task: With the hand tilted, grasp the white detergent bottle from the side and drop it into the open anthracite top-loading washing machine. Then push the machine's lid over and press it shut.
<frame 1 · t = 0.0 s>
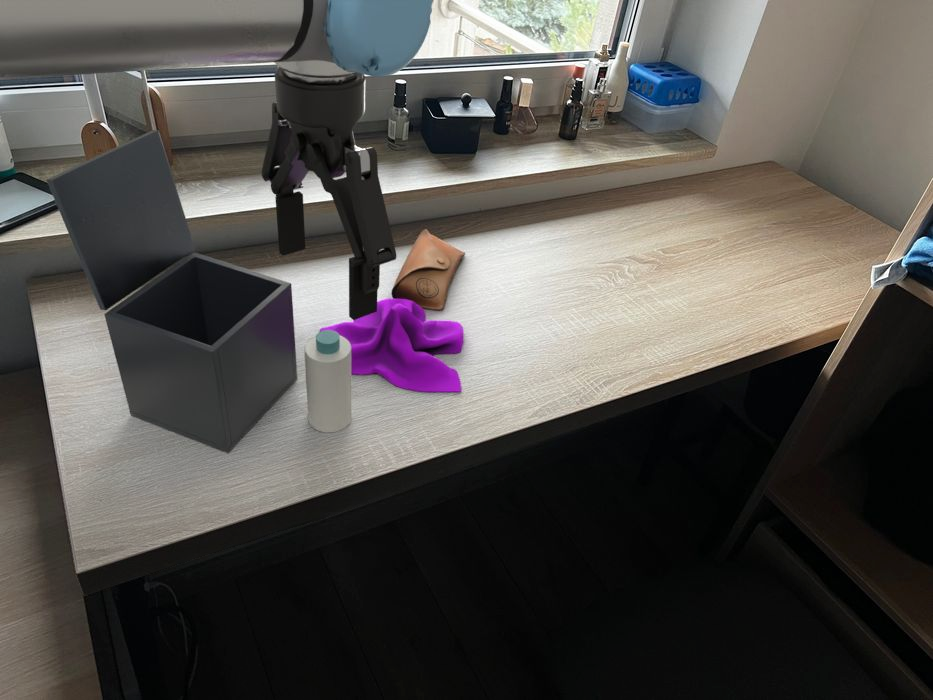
hand: (326, 281, 74), 21 cm above the table, tool pointing down, fingers open, 13 cm apart
sunglasses case: (430, 277, 115), on the table
white bottle: (329, 417, 88), on the table
cloth: (403, 348, 101), on the table
washer: (217, 396, 89), on the table
washer lid: (129, 218, 77), point 22 cm above the table, hinge at 100.0°
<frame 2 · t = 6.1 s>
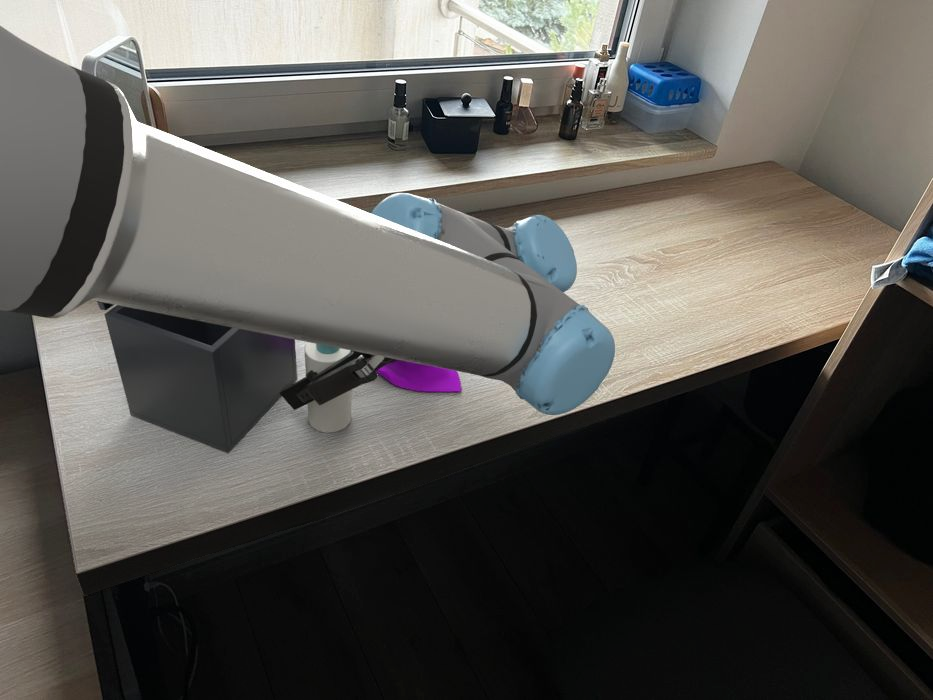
hand: (302, 385, 87), 4 cm above the table, tool tilted 45°, fingers closed on white bottle, 5 cm apart
white bottle: (329, 417, 88), on the table, touching gripper
everything else where it was.
when the fingers open (16 cm above the table, at t = 14.5 s): white bottle drops 12 cm, resting on washer.
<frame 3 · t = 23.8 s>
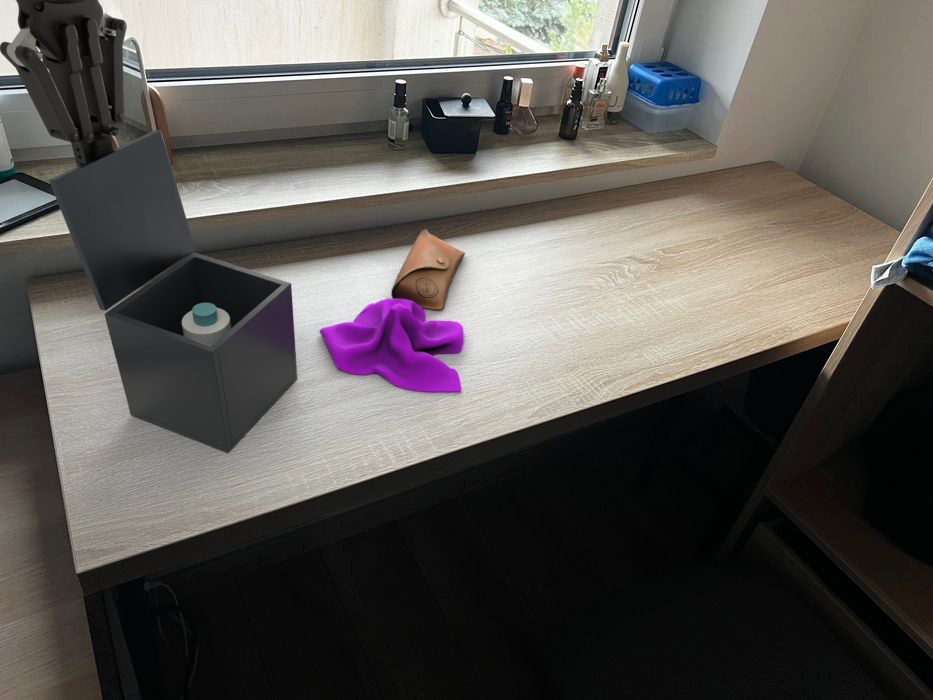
hand: (104, 195, 77), 24 cm above the table, tool pointing down, fingers closed
white bottle: (217, 391, 89), point 1 cm above the table, touching washer
washer lid: (131, 218, 77), point 22 cm above the table, hinge at 98.7°, touching gripper
everything else where it was.
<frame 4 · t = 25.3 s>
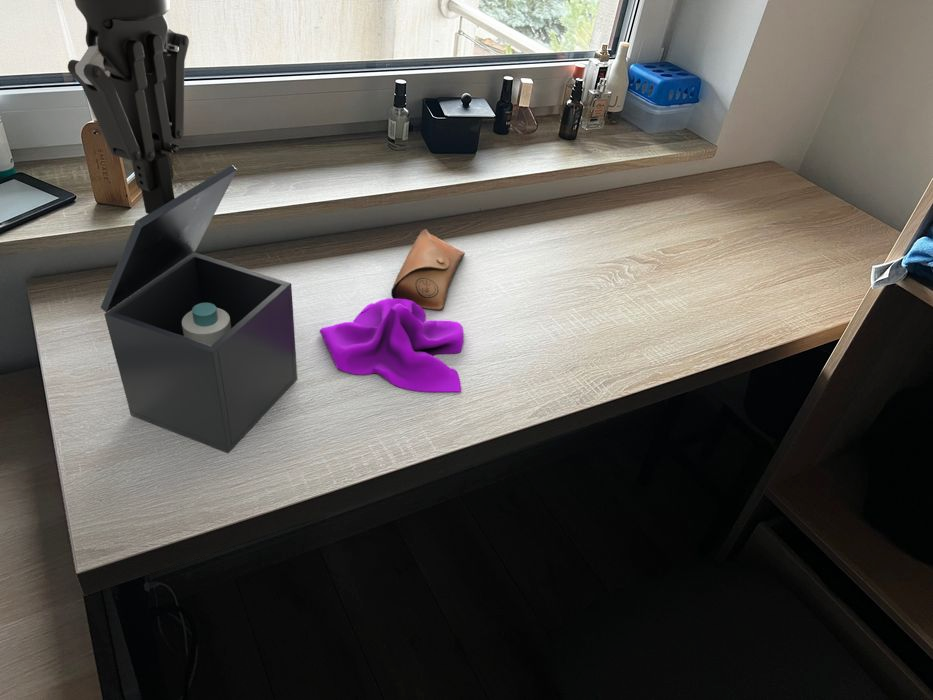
hand: (161, 213, 75), 24 cm above the table, tool pointing down, fingers closed
washer lid: (169, 238, 77), point 21 cm above the table, hinge at 59.2°, touching gripper
everything else where it was.
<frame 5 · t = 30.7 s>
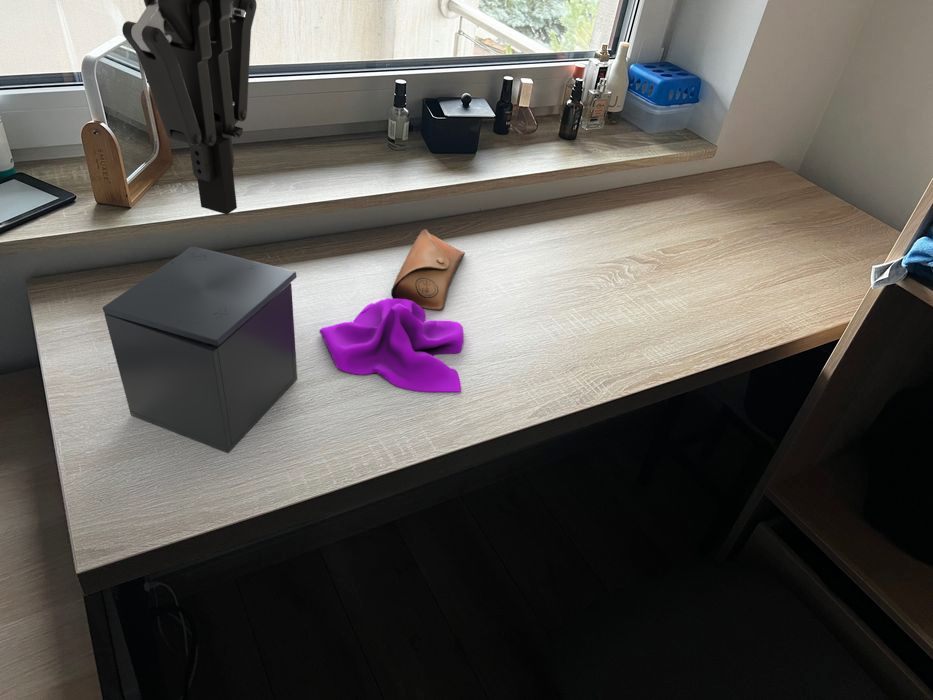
hand: (219, 207, 65), 30 cm above the table, tool pointing down, fingers closed
washer lid: (204, 291, 79), point 16 cm above the table, hinge at 4.0°
everything else where it was.
at the end: white bottle inside the target area in the washer (0.0 cm from its centre), point 0.8 cm above the washer's base; washer lid at +4° (first picture: +100°); the gripper is holding nothing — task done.
